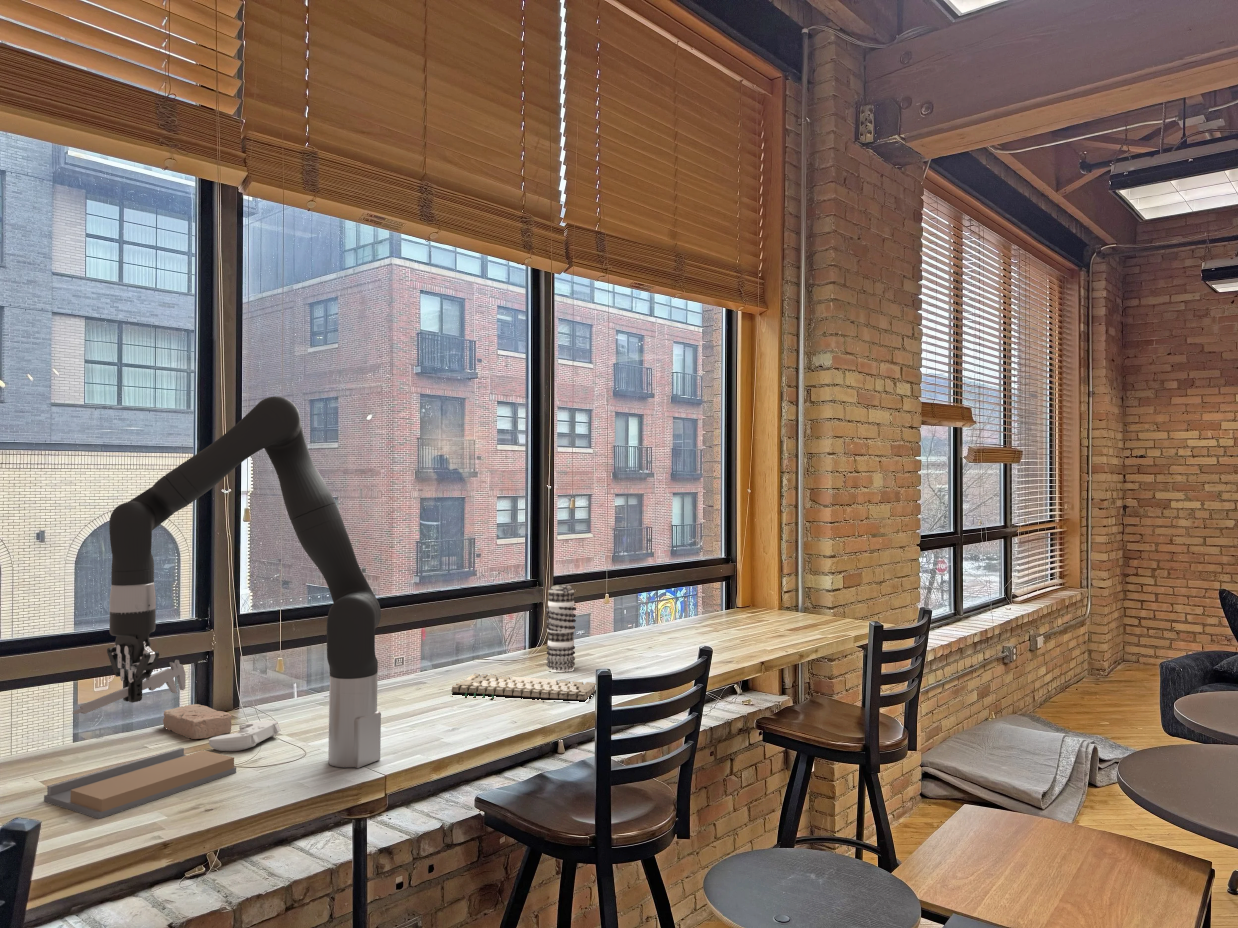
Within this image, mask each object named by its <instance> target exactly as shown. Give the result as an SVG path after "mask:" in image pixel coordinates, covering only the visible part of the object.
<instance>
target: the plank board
mask: <svg viewBox="0 0 1238 928" xmlns="http://www.w3.org/2000/svg"><path fill="white" fill-rule="evenodd" d="M236 773H237V767H236V766H235V757H233V756H229V755H226V754H222V753H217V752H213V751H208V750H204V749H203V750H199V751H197V752H192V753H189V754H187V755H186V754H185V749H184V747H178V748H175V749H174V748H173V749H171V750H167V751H164V752H160V753H156V754H152V755H149V756H147V757H142V758H139V759H136V760H132V761H128V762H126V763H123V764H118V765H115V766H111V767H108V768H104V769H101V770H98V771H94V772H92V773H87V774H83V775H80V776H77V777H74V778H73V777H72V778H70V779H67V780H63V781H60V782H55V783H52V784H50V785H47V787H46V788H47V789H46V790H47V793H46V794H44V795H43V801H44V802H45V803H48V804H52V805H54V806H57V807H60V808H64V809H65V810H66V809H67V810H70V811H73V812H76V813H79V814H82V815H85V816H88V817H92V818H94V819H98V820H99V819H103V818H106V817H109V816H112V815H115V814H118V813H121V812H123V811H126V810H129V809H133V808H136V807H138V806H142V805H145V804H147V803H150V802H153V801H156V800H159V799H162V798H165V797H169V796H171V795H173V794H177V793H180V792H183V791H185V790H189V789H191V788H194V787H197V786H202V785H203V784H206V783H210V782H212V781H216V780H218V779H222V778H224V777H228V776H230V775H233V774H236Z"/></svg>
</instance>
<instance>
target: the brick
mask: <svg viewBox="0 0 1238 928" xmlns="http://www.w3.org/2000/svg"><path fill="white" fill-rule="evenodd" d="M162 723H163V728H164V727H165V728H167V729H168V730H167V729H166V730H167V731H170V730H172V733H175V734H178V735H180V736H182V737H184V736H186V737H185V738H187V737H188V738H187V739H189V738H191V740H199V739H200V740H201V739H207V738H213V737H216V736H221V735H226V734H230V733H231V731H232V715H231V714H230V713H229V712H226V711H221V710H216V709H214V708H211V707H209V706H207V705H201V704H199V703H197V704H196V703H195V704H188V705H187V704H186V705H184V706H178V707H173V708H171V709H165V710H164V712H163V719H162ZM165 728H164V729H165Z"/></svg>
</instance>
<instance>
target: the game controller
mask: <svg viewBox="0 0 1238 928" xmlns="http://www.w3.org/2000/svg"><path fill="white" fill-rule="evenodd" d="M238 727H239V730H238V732H232V733H225V734H221V735H219V736H212V737H210V738H209V739H208V745H209V747H210V748H212V749H214V750H216V751H220V752H238V751H239V752H240V751H243V750H248V749H250V748H252V747H255V746H256V745H257V744H260V743H261V742H262V741H265V740H267V739H268V738H272V737H275V736H278V734H279V732H282V730H281V728H280V726H279V722H278V721H276V720H257V721H249V722H246V723H243V724H241V725H238Z"/></svg>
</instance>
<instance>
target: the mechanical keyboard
mask: <svg viewBox="0 0 1238 928" xmlns="http://www.w3.org/2000/svg"><path fill="white" fill-rule="evenodd" d="M595 685H597V682H589V681H586V682H585V683H584V682H583V681H575V680H573V681H572V682H571V681H570V680H559V681H558V680H557V679H552V678H551V679H550V678H534V677H520V676H519V677H518V676H512V677H510V676H499V677H498V676H497V675H496V674H495V673H494V674H493V673H491V674H489V675H488V674H487V673H473V674H472V675H470V676H469V677H467V678H466V679H463V680H462V681H460V682H456V683H455V685H452V687H451V694H452V695H462V696H465V698H467V696H468V695H469V696H474V697H473V698H476V696H483V697H482V698H485V696H488V697H492V698H491V699H494V696H496V697H505V698H521V699H522V698H523V699H532V700H535V699H537V700H539V699H541V700H563V701H579V702H585V701H586V700H587V699H588V697H589V699H591V697H592V696H591V695H593V697H594V696H595V694H593V693H594V692H595V693H596V690H595ZM593 697H592V698H593ZM591 700H592V699H591Z"/></svg>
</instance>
